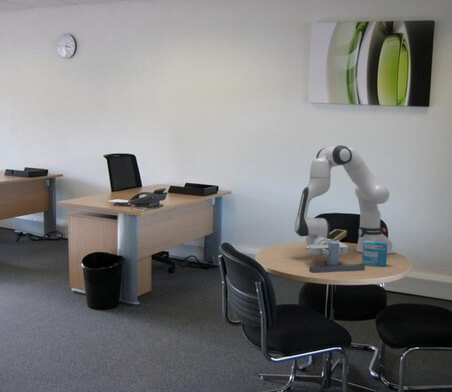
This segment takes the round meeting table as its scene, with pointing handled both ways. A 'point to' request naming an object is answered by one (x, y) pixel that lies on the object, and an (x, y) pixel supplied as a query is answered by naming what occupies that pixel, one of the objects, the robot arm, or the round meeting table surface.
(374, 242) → the blue printed carton
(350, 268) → the rail bracket
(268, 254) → the round meeting table surface
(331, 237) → the box
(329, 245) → the square post
